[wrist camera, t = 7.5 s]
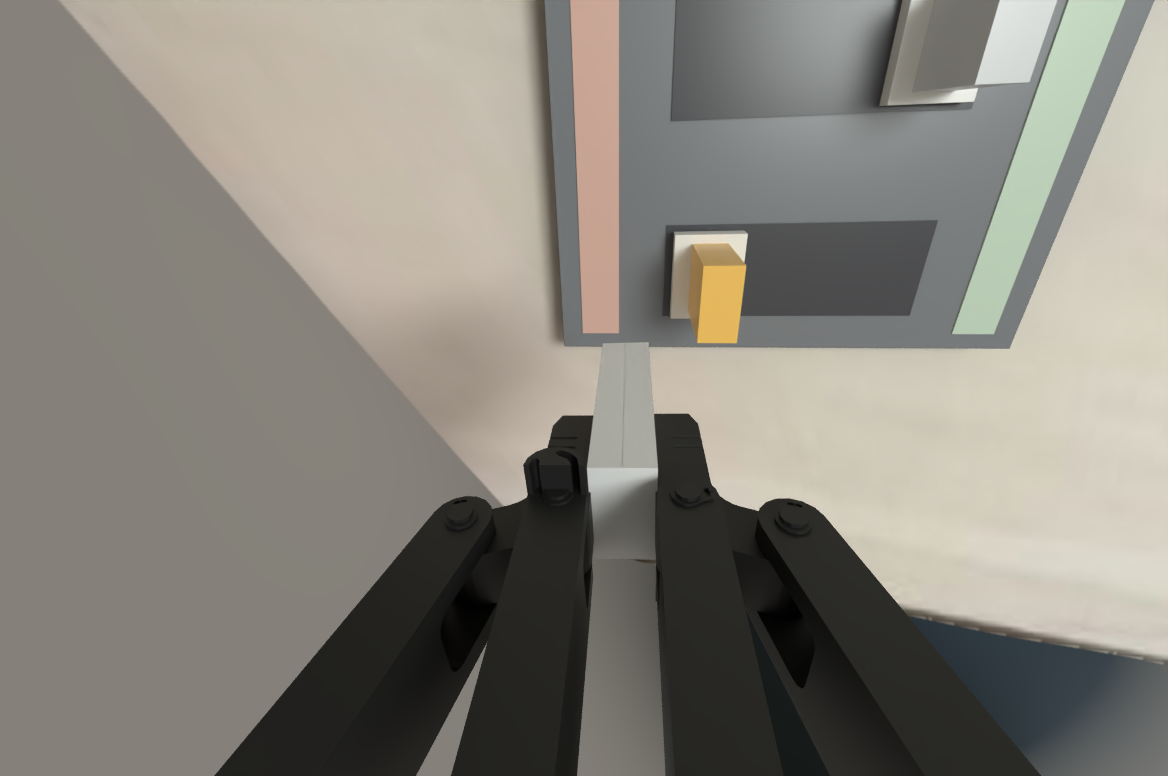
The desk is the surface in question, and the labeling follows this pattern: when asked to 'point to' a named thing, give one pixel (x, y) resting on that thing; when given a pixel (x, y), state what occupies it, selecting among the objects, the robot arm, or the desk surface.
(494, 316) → the desk surface
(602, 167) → the breaker panel
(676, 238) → the breaker handle
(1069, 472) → the desk surface
